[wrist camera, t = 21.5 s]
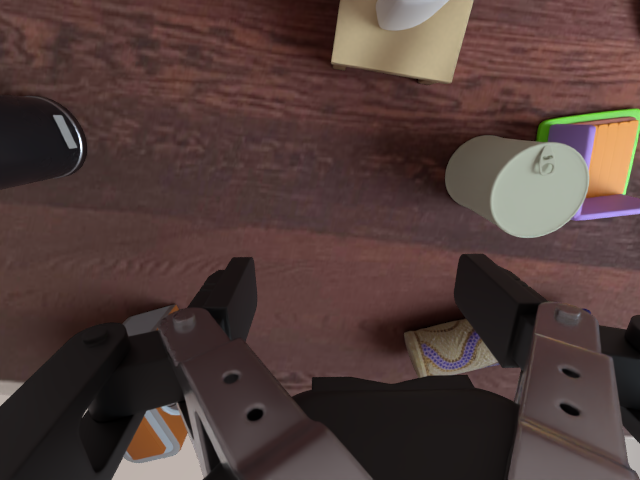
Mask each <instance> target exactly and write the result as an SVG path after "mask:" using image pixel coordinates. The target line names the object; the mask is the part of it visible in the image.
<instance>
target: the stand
mask: <svg viewBox="0 0 640 480" xmlns="http://www.w3.org/2000/svg"><path fill="white" fill-rule="evenodd" d="M376 2H377V0H340V4H339V11H338V18H337V25H336V32H335V38H334V45H333V52H332V59H331V64H333V69H338V70H345V68H346V67H351V68H357V69H363V70H368V71H374V72H380V73H386V74H392V75H397V76H403V77H409V78H415V79H419V80H418V83H419V84H425V85H431V84H434V83H437V82H438V83H443V84H448V83H451V82H452V78H453V74H454V71H455V67H456V63H457V59H458V56H459V52H460V48H461V45H462V41H463V37H464V34H465V30H466V26H467V23H468V19H469V15H470V12H471V8H472V4H473V0H449V1H448V2H447V3H446V4H445V5H444V6H443V7H441V8H440V9H439V10H438V11H437V12H436V13H435V14H434V15H433V16H431V17H430V18H429V19H427V20H426V21H424V22H423V23H421V24H419V25H417V26H415V27H412V28H409V29H405V30H397V31H392V30H385V29H382V28H381V27H380V26H379V24H378V19H377V13H376Z"/></svg>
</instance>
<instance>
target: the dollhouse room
mask: <svg viewBox="0 0 640 480" xmlns="http://www.w3.org/2000/svg"><path fill="white" fill-rule="evenodd" d="M639 132H640V109H622V110H613V111H605V112H597V113H589V114H581V115H574V116H566V117H559V118H553V119H548V120H545V121H543V122H541V123H540V125H539V127H538V131H537V137H536V142H557V143H562V144H566V145H568V146H570V147H572V148H574V149H575V150H576V151H577V152H579V153H580V154H581V156H582V157H583V158H584V160H585V162H586V164H587V167H588V171H589V187H588V191H587V194H586V197H585V199H584V202H583V203H582V205H581V207H580V208H579V210H578V211H577V213H576V214H575V215H574V216H573V217H572V218H571V220H588V219H597V218H606V217H615V216H624V215H633V214H640V199H639V198H635V197H631V196H627V195H625V193H626V189H627V185H628V181H629V177H630V173H631V168H632V164H633V160H634V155H635V151H636V146H637V141H638V137H639Z"/></svg>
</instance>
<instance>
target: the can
mask: <svg viewBox="0 0 640 480" xmlns="http://www.w3.org/2000/svg"><path fill="white" fill-rule="evenodd" d="M445 184H446V188H447V191H448V193H449V195H450V196H451V197H452V199H453V200H454V201H456V202H457V203H458V204H460V205H462V206H464V207H467V208H469V209H471V210H473V211H474V212H476V213H477V214H479V215H481V216H482V217H484V218H486V219H487V220H489V221H490V222H492V223H494V224H495V225H497V226H498V227H499V228H501V229H502V230H503V231H504V232H506V233H508V234H510V235H513V236H516V237H522V238H533V237H539V236H543V235H546V234H549V233H551V232H553V231H555V230H557V229H559V228H560V227H562V226H563V225H564V224H566V223H567V222H568V221H569V220H570V219H571V218H572V217H573V216H574V215H575V214H576V213H577V211H578V210H579V208H580V207H581V205H582V203H583V202H584V199H585V197H586V194H587V191H588V187H589V171H588V167H587V164H586V162H585V160H584V158H583V157H582V156H581V154H580V153H579V152H577V151H576V150H575V149H574V148H572V147H570V146H568V145H566V144H562V143H557V142H536V141H525V140H516V139H507V138H501V137H498V136H494V135H484V136H479V137H475V138H473V139H471V140H469V141H467V142H465V143H464V144H463V145H461V146H460V147H459V148H458V149H457V150H456V151H455V153H454V154H453V155H452V157H451V159H450V160H449V162H448V165H447V168H446V173H445Z"/></svg>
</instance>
